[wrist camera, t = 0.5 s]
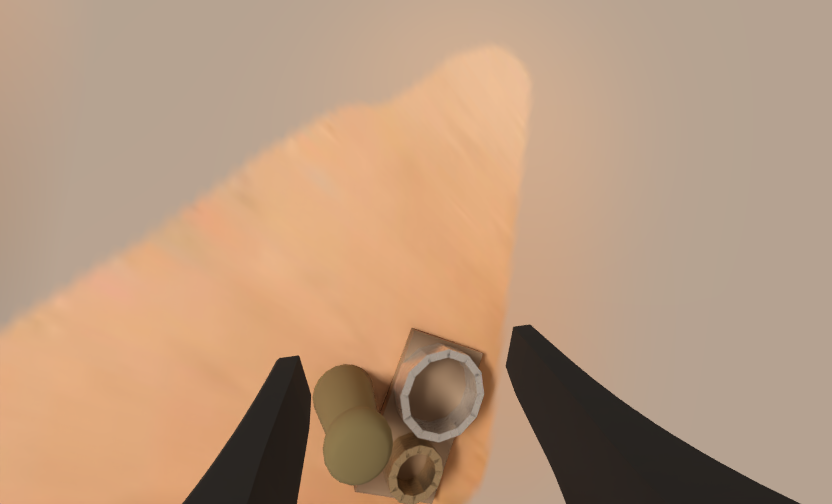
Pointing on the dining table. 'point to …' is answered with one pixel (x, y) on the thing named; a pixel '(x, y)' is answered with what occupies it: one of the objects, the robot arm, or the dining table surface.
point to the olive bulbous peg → (351, 426)
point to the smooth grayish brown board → (424, 405)
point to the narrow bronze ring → (424, 480)
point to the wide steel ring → (460, 415)
